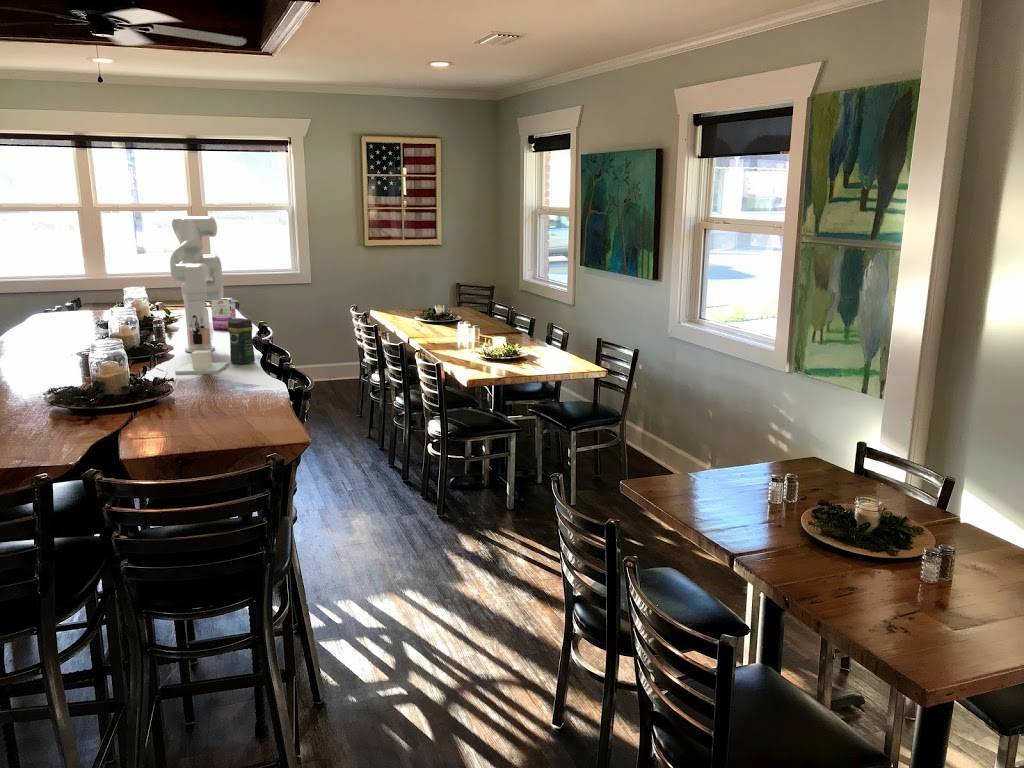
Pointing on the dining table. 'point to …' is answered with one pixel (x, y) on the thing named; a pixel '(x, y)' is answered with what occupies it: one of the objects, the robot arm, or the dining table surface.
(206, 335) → the terracotta block
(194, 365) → the cream block
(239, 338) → the coffee jar
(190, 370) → the board
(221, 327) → the candy bar box
